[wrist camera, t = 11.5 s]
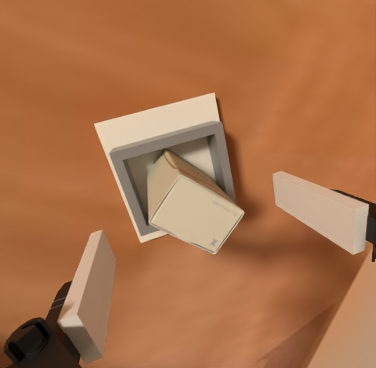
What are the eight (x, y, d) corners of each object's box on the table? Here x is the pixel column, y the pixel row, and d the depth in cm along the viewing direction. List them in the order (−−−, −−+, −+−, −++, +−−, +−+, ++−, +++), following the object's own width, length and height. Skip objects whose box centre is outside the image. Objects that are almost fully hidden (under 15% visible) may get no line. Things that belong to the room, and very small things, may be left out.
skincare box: (204, 171, 27) (250, 211, 16) (185, 199, 28) (216, 257, 17) (162, 145, 25) (181, 171, 14) (143, 176, 26) (146, 225, 14)
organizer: (140, 237, 30) (140, 259, 25) (96, 123, 24) (86, 125, 19) (231, 206, 31) (247, 222, 27) (210, 93, 26) (225, 89, 21)
